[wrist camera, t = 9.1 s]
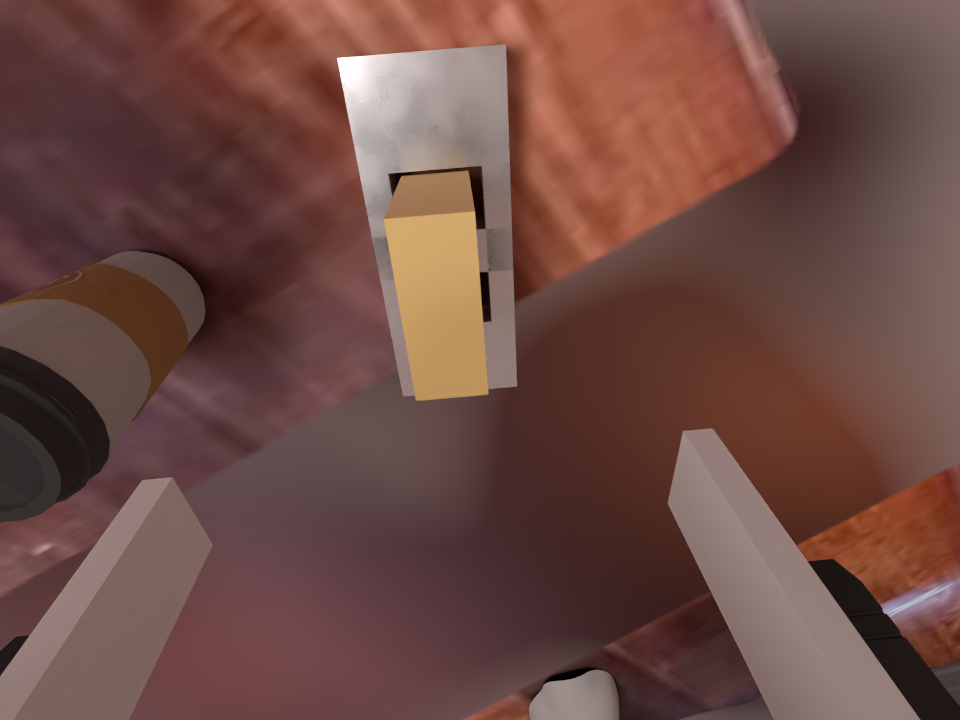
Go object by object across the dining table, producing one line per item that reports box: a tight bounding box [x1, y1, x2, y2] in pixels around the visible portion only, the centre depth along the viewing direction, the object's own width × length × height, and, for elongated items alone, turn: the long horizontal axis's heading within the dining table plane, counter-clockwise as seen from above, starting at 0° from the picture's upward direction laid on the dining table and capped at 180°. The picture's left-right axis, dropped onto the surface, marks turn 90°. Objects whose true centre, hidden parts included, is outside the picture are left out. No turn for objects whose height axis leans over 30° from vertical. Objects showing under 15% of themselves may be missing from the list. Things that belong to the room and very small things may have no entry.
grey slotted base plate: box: [337, 44, 517, 396], centre depth 29 cm, size 20×8×2 cm, turn 4°
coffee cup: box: [0, 251, 205, 522], centre depth 25 cm, size 8×8×15 cm
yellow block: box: [384, 171, 488, 401], centre depth 25 cm, size 9×4×10 cm, turn 4°
